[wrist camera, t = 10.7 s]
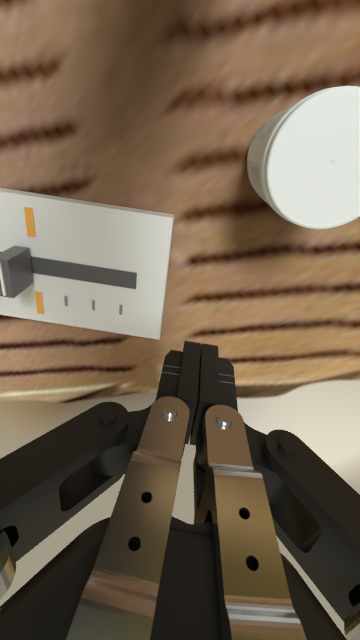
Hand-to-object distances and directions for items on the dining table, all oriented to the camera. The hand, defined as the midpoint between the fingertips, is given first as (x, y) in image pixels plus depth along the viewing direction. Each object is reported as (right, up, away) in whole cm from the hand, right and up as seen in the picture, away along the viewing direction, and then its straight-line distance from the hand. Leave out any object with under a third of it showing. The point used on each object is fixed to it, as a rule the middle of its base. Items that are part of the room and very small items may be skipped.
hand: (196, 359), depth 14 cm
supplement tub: (+12, +20, +21) cm, 31 cm away
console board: (-16, +10, +30) cm, 35 cm away
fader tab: (-22, +9, +28) cm, 37 cm away
